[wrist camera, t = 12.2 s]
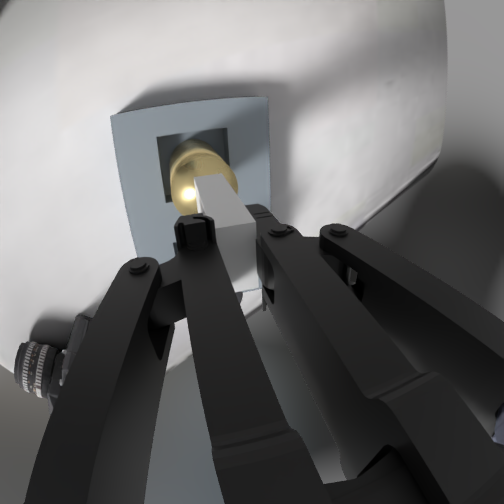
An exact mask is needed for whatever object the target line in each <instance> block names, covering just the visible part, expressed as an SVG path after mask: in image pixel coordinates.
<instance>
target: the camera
mask: <svg viewBox="0 0 504 504" xmlns="http://www.w3.org/2000/svg"><path fill="white" fill-rule="evenodd" d="M92 320H93V318H90V317H86V316H83V315H79V316H76V317H75V323H74V326H73V329H72V333H71V334H70V338H69V342H68V343H67V348H66V349H65V350H62V352H60V353H59V350H58V349H56V348H53V347H51V346H50V345H47V344H45V345H43V344H42V345H40V344H38V343H36V342H33V341H32V342H26V343H21V345H20V346H19V349H18V352H17V355H16V359H15V367H14V377H15V381H16V383H18V384H19V385H20V387H21V388H23V389H24V390H25V391H27V392H32V393H34V394H35V395H37V396H38V397H41V398H47V399H48V406H49V414H50V415H51V413H52V411H53V408H54V405H55V403H56V400H57V398H58V395H59V393H60V390H61V388H62V385H63V383H64V381H65V378H66V376H67V373H68V371H69V369H70V367H71V364H72V362H73V360H74V358H75V355H76V353H77V351H78V349H79V347H80V345H81V343H82V340H83V338H84V336H85V334H86V332H87V330H88V328H89V326H90V324H91V322H92Z"/></svg>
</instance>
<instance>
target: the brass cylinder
mask: <svg viewBox="0 0 504 504" xmlns="http://www.w3.org/2000/svg"><path fill="white" fill-rule="evenodd" d="M169 166H170V184H171V196H172V201H173V203H174V206H175V207H176V209H177V210H178V211H179V212H180V213H181V214H182V215H183V216H185V215H191V214H197V213H198V209H197V201H196V193H195V184H194V177H198V176H205V175H213V174H220V173H222V174H223V176H224V177H225V179H226V180H227V181H228V183H229V184H230V186H231V187H232V188H233V190H234V191H235V193H236V194H238V182H237V178H236V176H235V174H234V172H233V171H232V169H231V168H230V167H229V166H228V165H227V164H226V162H225V161H224V160H223V159H222V158H221V157H220V156H219V155H218V153H217V152H216V151H215V150H214V149H213V148H212V147H211V146H210V145H209V144H208V143H206V142H205V141H202V140H199V139H190V140H186V141H183V142H182V143H180V144H179V145H178V146H176V148H175V149H174V150H173V152H172V154H171V156H170V161H169Z"/></svg>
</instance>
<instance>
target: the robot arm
mask: <svg viewBox="0 0 504 504" xmlns="http://www.w3.org/2000/svg"><path fill="white" fill-rule="evenodd" d="M194 184H195V193H196V201H197V209H198V213H197V214H191V215H185V216H180V217H179V218H178V220H177V221H176V223H175V225H174V231H175V237H176V243H177V248H178V253H177V255H176V256H175V257H174V258H172V259H171V260H169V261H167V262H165V263H162V264H159V263H158V261H157V260H156V259H154V258H152V257H137V258H135V259H131V260H130V261H128V262H127V263H125V264H124V265H123V266H122V267H121V268H120V270H119V271H118V273H117V275H116V277H115V279H114V280H113V282H112V284H111V286H110V288H109V289H108V291H107V293H106V295H105V297H104V299H103V301H102V303H101V304H100V306H99V308H98V310H97V312H96V314H95V316H94V318H93V320H92V322H91V324H90V326H89V328H88V330H87V332H86V334H85V336H84V338H83V340H82V343H81V345H80V347H79V349H78V351H77V353H76V355H75V358H74V360H73V362H72V364H71V367H70V369H69V371H68V373H67V376H66V378H65V381H64V383H63V385H62V388H61V390H60V393H59V395H58V398H57V400H56V403H55V405H54V408H53V411H52V413H51V416H50V419H49V421H48V424H47V427H46V430H45V433H44V436H43V439H42V442H41V445H40V448H39V451H38V454H37V457H36V461H35V464H34V468H33V471H32V475H31V479H30V482H29V486H28V490H27V494H26V499H25V502H24V504H144V499H145V490H146V483H147V475H148V469H149V462H150V455H151V448H152V443H153V436H154V431H155V424H156V418H157V413H158V408H159V402H160V397H161V391H162V387H163V381H164V377H165V372H166V367H167V362H168V357H169V352H170V348H171V343H172V339H173V334H174V330H175V324H174V322H177V321H179V320H181V319H184V318H186V317H187V322H188V329H189V335H190V341H191V347H192V352H193V358H194V363H195V369H196V373H197V379H198V384H199V389H200V394H201V398H202V404H203V408H204V413H205V418H206V422H207V427H208V431H209V435H210V440H211V444H212V456H213V461H214V466H215V470H216V474H217V477H218V481H219V485H220V488H221V492H222V495H223V499H224V503H225V504H504V322H503V321H502V320H500V319H499V318H497V317H496V316H495V315H493V314H492V313H490V312H489V311H487V310H486V309H484V308H483V307H481V306H480V305H478V304H477V303H475V302H474V301H473V300H471V299H470V298H468V297H466V296H465V295H463V294H462V293H460V292H459V291H457V290H456V289H454V288H453V287H451V286H450V285H448V284H446V283H445V282H443V281H441V280H440V279H438V278H437V277H435V276H434V275H432V274H430V273H429V272H427V271H425V270H424V269H422V268H420V267H419V266H417V265H416V264H414V263H412V262H411V261H408V260H407V259H405V258H404V257H402V256H400V255H399V254H397V253H395V252H394V251H392V250H390V249H388V248H387V247H385V246H383V245H381V244H379V243H378V242H376V241H374V240H373V239H370V238H369V237H367V236H365V235H364V234H362V233H360V232H358V231H356V230H354V229H353V228H351V227H348V226H346V225H341V224H337V223H336V224H335V223H334V224H329V225H325V226H323V227H322V228H321V229H320V236H319V237H303V236H302V235H301V234H300V232H299V231H298V230H297V229H296V228H294V227H293V226H290V225H286V224H280V223H279V222H278V220H277V219H276V218H275V217H274V216H273V215H272V213H271V212H270V211H269V210H268V209H267V208H266V207H265V206H263V205H260V204H251V205H244V204H243V203H242V201H241V200H240V198H239V197H238V195H237V194H236V193H235V191H234V190H233V188H232V187H231V186H230V184H229V183H228V181H227V180H226V179H225V177H224V176H223V174H222V173H220V174H213V175H205V176H198V177H194ZM351 268H352V269H354V270H355V271H356V272H358V275H357V280H356V283H354V282H352V281H351V280H350V274H351ZM258 276H259V278H260V280H261V282H262V305H263V311H266V305H268V307H269V309H270V311H271V313H272V315H273V317H274V319H275V322H276V324H277V326H278V327H279V330H280V332H281V334H282V336H283V338H284V340H285V342H286V344H287V346H288V348H289V350H290V352H291V354H292V356H293V358H294V360H295V362H296V364H297V366H298V368H299V370H300V372H301V374H302V376H303V378H304V380H305V382H306V384H307V386H308V388H309V390H310V392H311V394H312V396H313V398H314V400H315V402H316V404H317V406H318V408H319V410H320V412H321V414H322V416H323V418H324V420H325V422H326V424H327V426H328V428H329V430H330V432H331V434H332V436H333V438H334V440H335V442H336V444H337V447H338V449H339V452H340V463H341V467H342V470H343V473H344V475H345V477H346V479H347V480H346V481H340V482H335V483H328V484H323V482H322V480H321V478H320V476H319V473H318V471H317V469H316V467H315V465H314V463H313V460H312V458H311V456H310V454H309V452H308V449H307V447H306V445H305V443H304V441H303V439H302V438H301V436H300V435H299V433H298V432H297V431H296V430H294V429H292V428H291V427H290V426H289V425H288V423H287V421H286V419H285V416H284V414H283V411H282V409H281V406H280V404H279V402H278V399H277V397H276V394H275V392H274V390H273V387H272V385H271V382H270V380H269V377H268V375H267V372H266V370H265V368H264V365H263V362H262V360H261V357H260V355H259V352H258V350H257V348H256V345H255V342H254V340H253V337H252V335H251V332H250V330H249V327H248V324H247V322H246V319H245V317H244V314H243V311H242V309H241V306H240V304H239V301H238V298H237V296H236V293H235V292H239V291H245V290H250V289H255V288H259V283H258Z"/></svg>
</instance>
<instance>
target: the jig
mask: <svg viewBox="0 0 504 504" xmlns="http://www.w3.org/2000/svg"><path fill="white" fill-rule="evenodd" d="M110 119H111V127H112V134H113V141H114V147H115V154H116V160H117V166H118V171H119V177H120V182H121V187H122V192H123V197H124V202H125V207H126V212H127V216H128V220H129V225H130V229H131V233H132V237H133V241H134V245H135V249H136V253H137V257H152V258H154V259H156V260H157V261H158V263H159V264H162V263H165V262H167V261H169V260H171V259H172V258H174V257H175V256H176V255H177V253H178V248H177V243H176V237H175V231H174V225H175V223H176V221H177V220H178V218H179V217H180V216H183V215H182V214H181V213H180V212H179V211H178V210H177V209H176V207H175V206H174V203H173V201H172V196H171V184H170V166H169V161H170V156H171V154H172V152H173V150H174V149H175V148H176V146H178V145H179V144H180V143H182V142H183V141H186V140H190V139H199V140H202V141H205V142H206V143H208V144H209V145H210V146H211V147H212V148H213V149H214V150H215V151H216V152H217V153H218V155H219V156H220V157H221V158H222V159H223V160H224V161H225V162H226V164H227V165H228V166H229V167H230V168H231V169H232V171H233V172H234V174H235V176H236V178H237V182H238V194H237V195H238V197H239V198H240V200H241V201H242V203H243V204H244V205H251V204H260V205H263V206H265V207H266V208H267V209H268V210H269V211H270V212H271V195H270V152H269V118H268V97H265V96H251V97H233V98H220V99H209V100H199V101H190V102H182V103H175V104H168V105H161V106H155V107H149V108H144V109H138V110H133V111H128V112H123V113H118V114H115V115H112V116H110ZM258 283H259V288H255V289H250V290H245V291H239V292H235V293H236V296H237V298H238V301H239V304H240V303H241V300H242V296H243V292H248V291H253V290H258V289H262V282H261V280H260V278H259V276H258Z"/></svg>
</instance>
